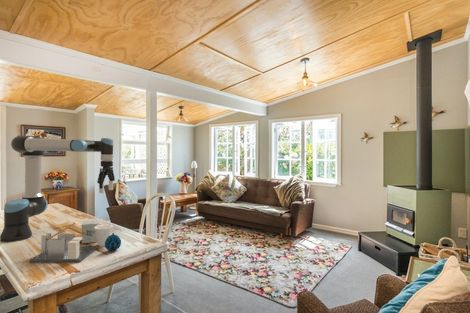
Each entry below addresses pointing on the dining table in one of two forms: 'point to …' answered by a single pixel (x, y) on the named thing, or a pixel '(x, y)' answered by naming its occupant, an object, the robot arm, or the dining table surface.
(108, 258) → the dining table surface
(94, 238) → the ink box
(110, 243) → the ornament
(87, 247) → the base
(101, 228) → the cup
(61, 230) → the strap
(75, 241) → the block
